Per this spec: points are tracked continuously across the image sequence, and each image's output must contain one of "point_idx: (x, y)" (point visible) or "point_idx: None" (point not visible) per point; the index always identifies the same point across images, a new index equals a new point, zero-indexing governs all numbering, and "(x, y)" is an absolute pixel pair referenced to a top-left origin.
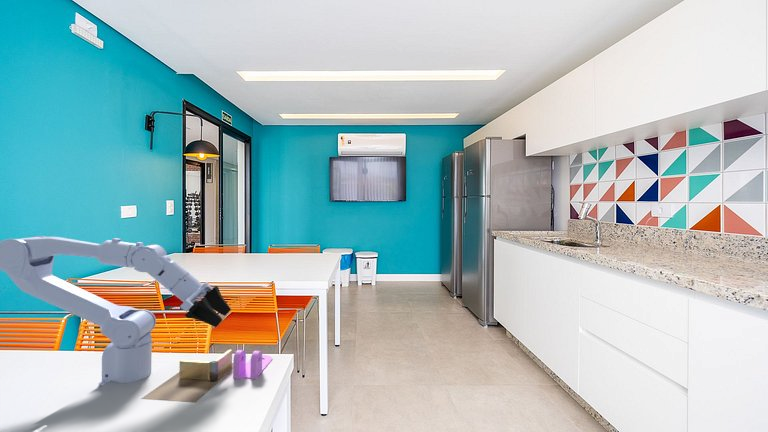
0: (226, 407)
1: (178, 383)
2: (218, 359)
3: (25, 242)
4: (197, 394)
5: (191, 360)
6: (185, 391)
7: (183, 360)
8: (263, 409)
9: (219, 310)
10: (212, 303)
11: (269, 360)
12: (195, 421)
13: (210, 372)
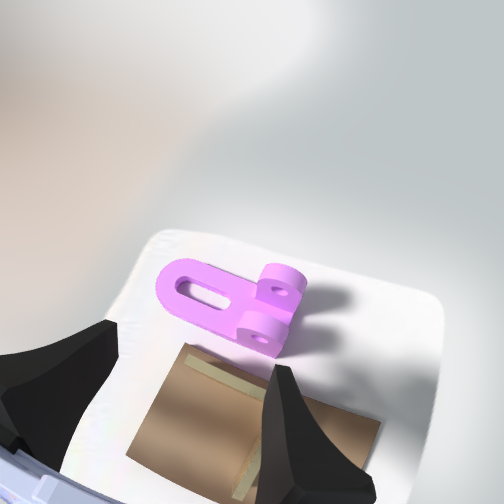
0: (391, 358)
1: None
2: (263, 392)
3: None
4: (347, 428)
5: (246, 470)
6: None
7: (238, 492)
8: (406, 289)
9: (97, 380)
10: (67, 415)
11: (200, 265)
12: (424, 404)
13: None
